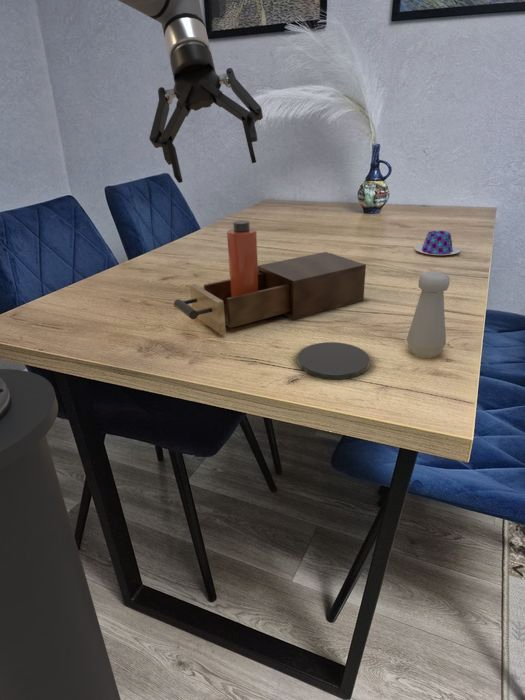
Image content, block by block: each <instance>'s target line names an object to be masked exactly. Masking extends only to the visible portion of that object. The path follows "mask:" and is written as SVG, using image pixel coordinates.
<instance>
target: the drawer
mask: <svg viewBox="0 0 525 700" xmlns="http://www.w3.org/2000/svg"><path fill="white" fill-rule="evenodd" d="M258 289H259V291H256V292H251V293H247V294H243V295H238V296H234V297H231V289H230V278H228V279H224V280H223V279H222V280H219V281H215V282H210V283H205V284H203V288H202V287H201V286H199V285H198V284H196V283H194V284H190V285H189V294H190V299H186V300H182V299H179V298H176V299H175V300H174V301H173V306H174V308H175V309H177V310H179V311H180V312H181V313H183V314H184V316H187V317H188V318H190V320H196V319H199V320H200V321H202V322H203V323H204V324H206V326H208V327H210V328H211V329H212V330H214V331H215V332H216V333H218V334H225V333H226V331H227V330H226V326H227V327H229V328H235V327H238V326H243V325H247V324H251V323H253V322H258V321H261V320H264V319H268V318H272V317H276V316H279V315H280V316H281V315H284V313H288V312H291V284H289V283H287V282H285V281H283V280H280V279H278V278H276V277H274V276H271V275H269V274H267V273H264V272H261V273H258Z"/></svg>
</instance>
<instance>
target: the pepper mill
mask: <svg viewBox="0 0 525 700" xmlns="http://www.w3.org/2000/svg"><path fill="white" fill-rule="evenodd" d="M232 224H233V228H231V229H228V230H227V231H226V239H227V254H228V255H227V256H228V271H229V279H230V289H231V297H234V296H238V295H243V294H247V293H251V292H256V291H259V289H258V265H259V263H258V259H259V258H258V234H257V233H258V232H257V229H256V228H253V227H251V225H250V221H249V220H235V221H233V223H232Z"/></svg>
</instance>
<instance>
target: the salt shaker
mask: <svg viewBox="0 0 525 700" xmlns="http://www.w3.org/2000/svg"><path fill="white" fill-rule="evenodd" d="M450 283H451V282H450V276H449V275H448V274H446V273H445V272H441V271H436V270H435V271H434V270H430V271H425V272H422V273H421V274H420V276H419V279H418V288H419V289H420V290H421V291H420V293H419V297H418V301H417V304H416V308H415V310H414V314H413V317H412V321H411V324H410V328H409V330H408V334H407V337H406V341H407V344H408V348H409V352H410V353H411V354H412V355H414V356H415V357H417V358H421V359H429V360H430V359H433V358H436V357H438V356H439V355H440V354H441V352H442V350H444V348H445V346H446V343H447V334H446V332H447V331H446V319H445V318H446V317H445V316H446V315H445V299H444V298H445V297H444V296H445V295H444V294H445V293H444V292H446V291H448V290H449V286H450Z"/></svg>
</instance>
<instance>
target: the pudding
mask: <svg viewBox="0 0 525 700" xmlns="http://www.w3.org/2000/svg"><path fill="white" fill-rule="evenodd" d="M413 249H414V250H415V251H417V252H419V253H422V254H425V255H428V256H441V257H442V256H450V255H455V254H459V253H460V252H461V248H460V247H457V246H455V245H453V241H452V234H451V232H449V231H446V230H430V231H428V233H427V234H426V236H425V239H424V242H423V244H417V245H415V246H414V247H413Z"/></svg>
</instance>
